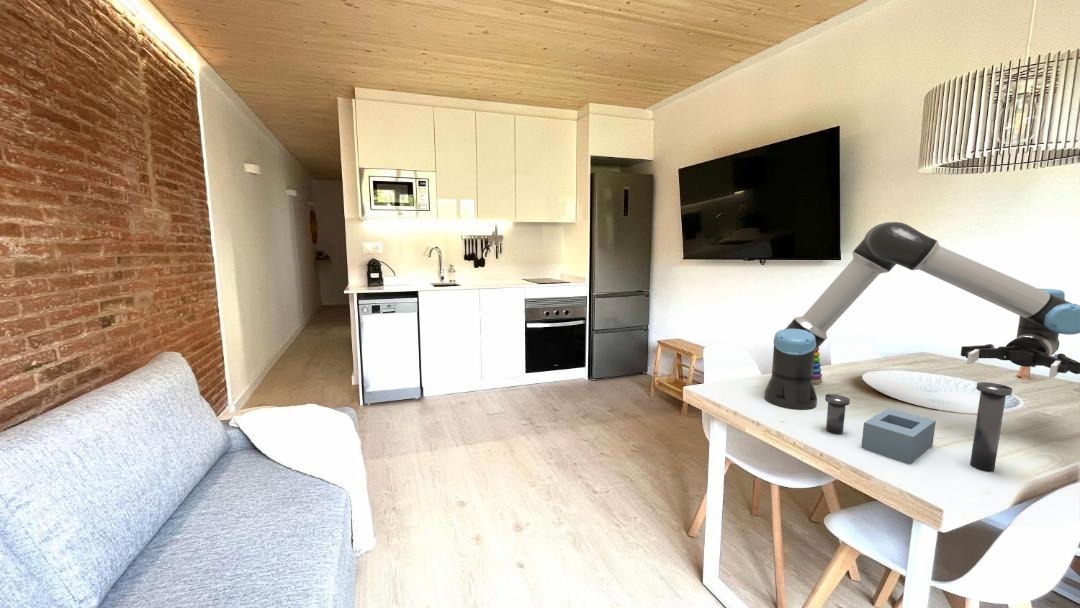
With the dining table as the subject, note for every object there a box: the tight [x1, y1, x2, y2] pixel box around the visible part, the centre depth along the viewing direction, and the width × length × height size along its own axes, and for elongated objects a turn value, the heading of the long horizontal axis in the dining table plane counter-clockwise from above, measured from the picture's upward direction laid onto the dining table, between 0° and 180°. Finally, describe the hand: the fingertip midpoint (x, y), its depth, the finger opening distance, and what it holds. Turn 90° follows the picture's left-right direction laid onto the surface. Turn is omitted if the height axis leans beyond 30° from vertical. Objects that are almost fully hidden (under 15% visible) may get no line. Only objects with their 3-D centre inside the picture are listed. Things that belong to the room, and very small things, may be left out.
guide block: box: [861, 407, 937, 465], centre depth 111 cm, size 16×10×7 cm, turn 123°
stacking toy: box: [812, 346, 823, 385], centre depth 160 cm, size 8×8×19 cm
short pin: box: [824, 393, 851, 435], centre depth 120 cm, size 6×6×10 cm
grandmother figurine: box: [1015, 366, 1037, 381], centre depth 160 cm, size 8×4×13 cm, turn 169°
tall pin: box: [969, 381, 1013, 473], centre depth 100 cm, size 6×6×20 cm
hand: (1008, 364), depth 103 cm, fingers open, 13 cm apart
